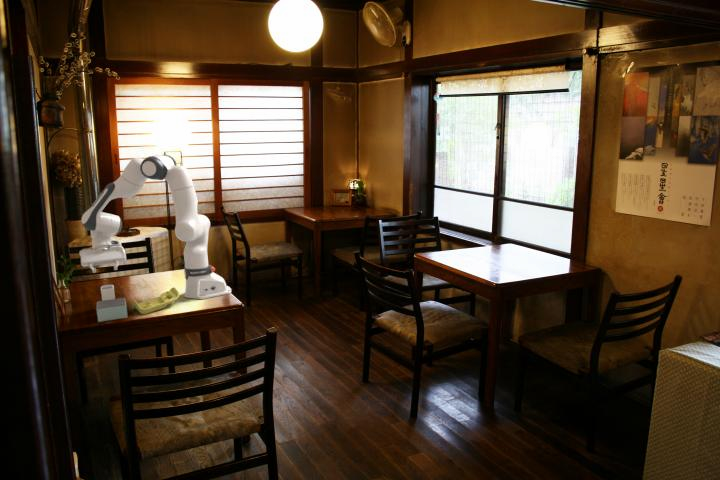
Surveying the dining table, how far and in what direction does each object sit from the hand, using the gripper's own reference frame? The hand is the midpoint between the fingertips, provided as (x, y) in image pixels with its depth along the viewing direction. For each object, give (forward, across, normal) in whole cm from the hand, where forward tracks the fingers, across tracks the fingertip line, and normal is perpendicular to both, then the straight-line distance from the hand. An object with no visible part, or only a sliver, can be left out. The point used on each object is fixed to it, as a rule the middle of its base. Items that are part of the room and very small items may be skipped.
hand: (105, 270), depth 285 cm
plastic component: (+28, +20, -6) cm, 35 cm away
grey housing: (+19, 0, +2) cm, 20 cm away
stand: (+29, +1, -7) cm, 29 cm away
